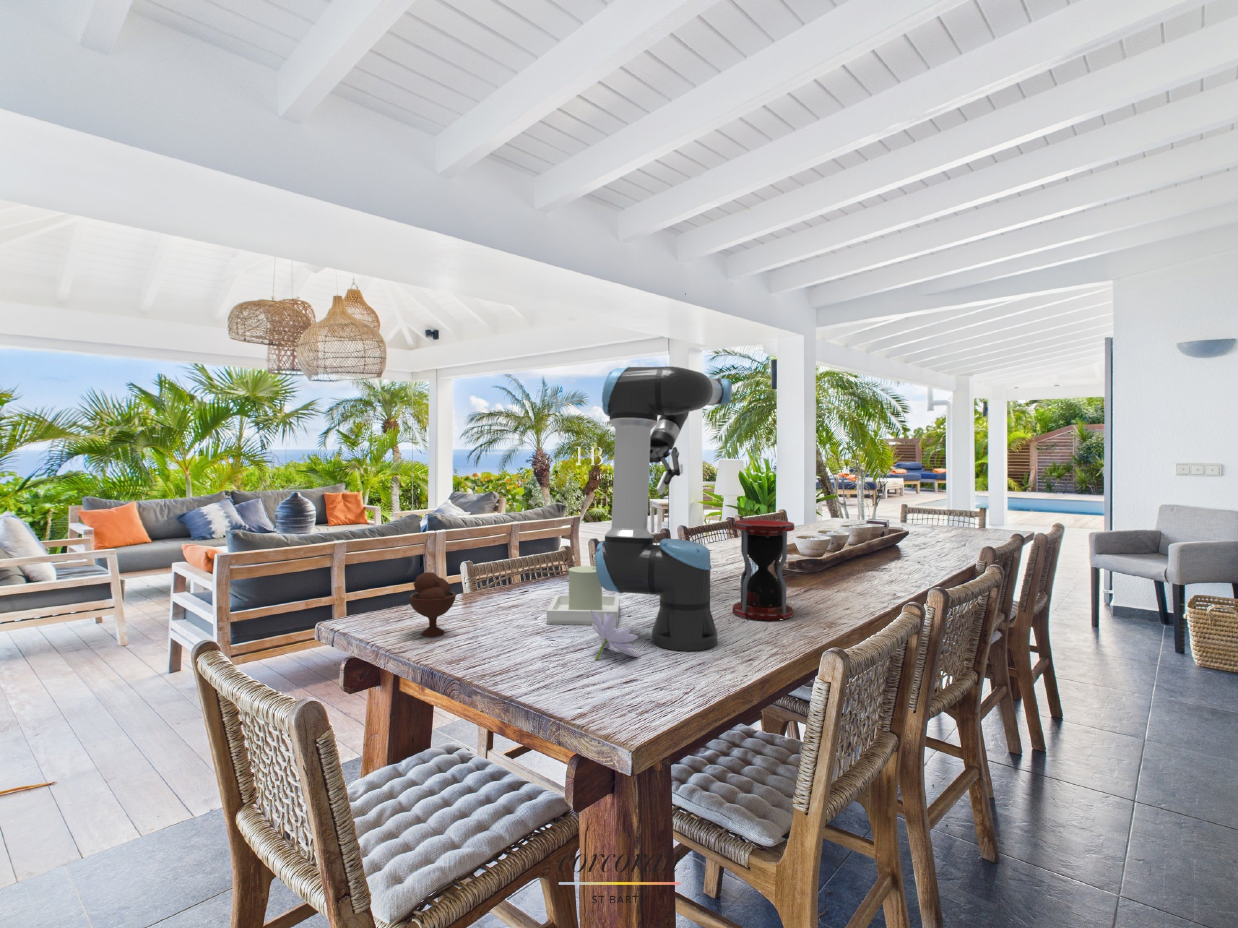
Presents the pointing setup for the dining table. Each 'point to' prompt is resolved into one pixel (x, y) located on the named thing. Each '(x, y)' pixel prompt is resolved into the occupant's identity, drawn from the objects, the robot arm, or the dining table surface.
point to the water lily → (612, 634)
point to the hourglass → (763, 569)
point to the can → (584, 589)
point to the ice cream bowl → (431, 600)
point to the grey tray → (580, 611)
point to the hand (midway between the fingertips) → (637, 490)
